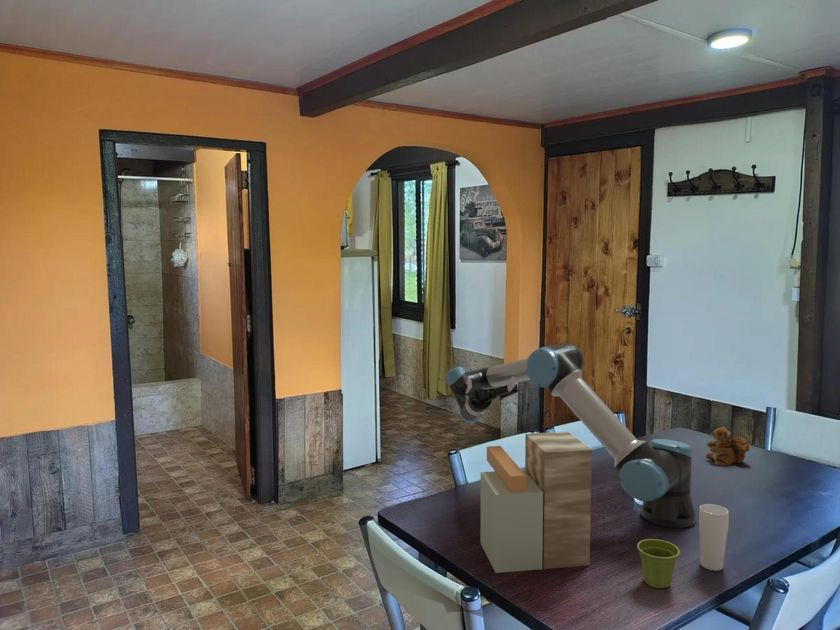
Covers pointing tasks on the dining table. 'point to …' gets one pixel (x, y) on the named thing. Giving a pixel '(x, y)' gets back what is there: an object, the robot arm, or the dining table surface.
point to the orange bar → (506, 469)
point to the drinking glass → (712, 535)
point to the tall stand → (562, 496)
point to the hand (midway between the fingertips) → (492, 381)
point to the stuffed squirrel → (727, 447)
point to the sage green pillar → (511, 524)
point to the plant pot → (657, 561)
